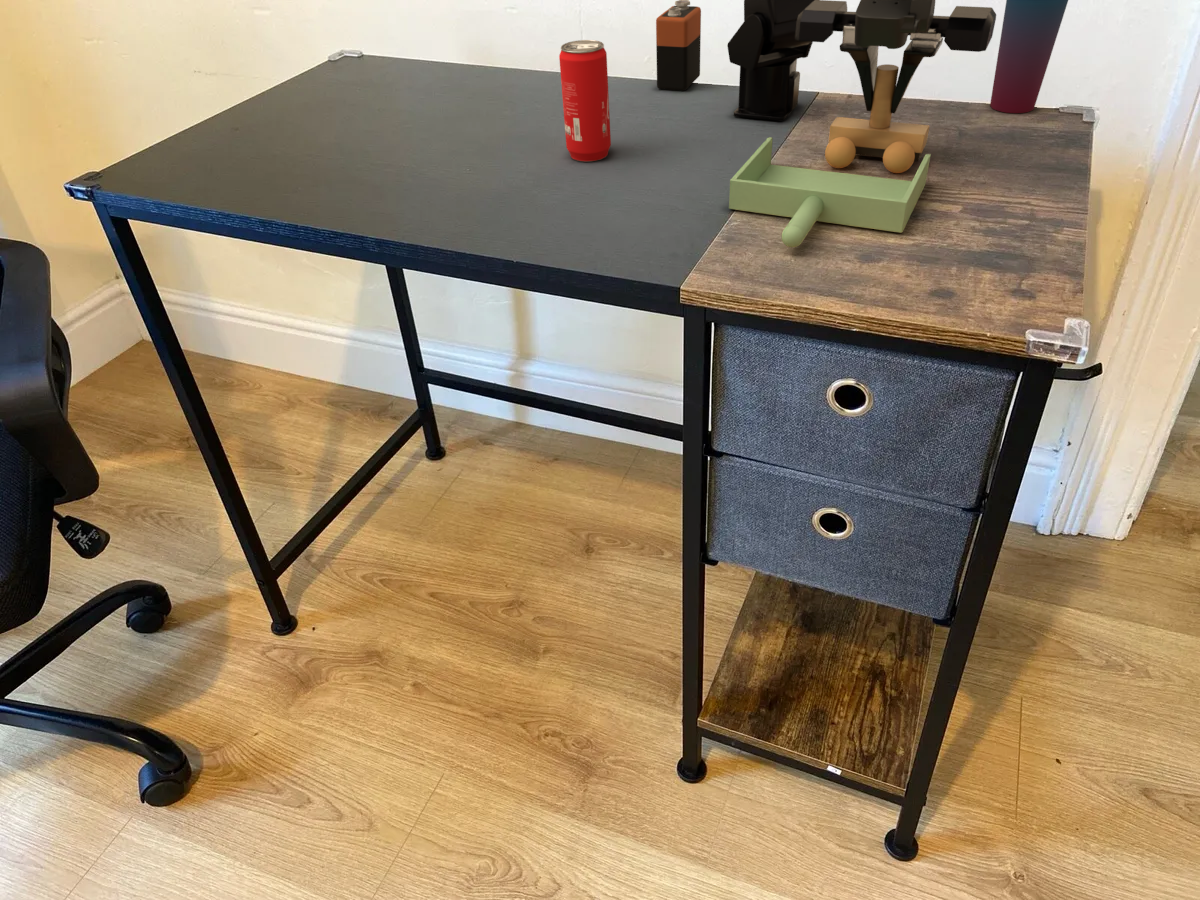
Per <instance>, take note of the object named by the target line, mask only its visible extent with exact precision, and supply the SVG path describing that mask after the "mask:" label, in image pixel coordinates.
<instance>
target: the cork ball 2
mask: <svg viewBox="0 0 1200 900" xmlns="http://www.w3.org/2000/svg"><path fill="white" fill-rule="evenodd" d="M914 158H915V153H914V150H913V148H912V146H911V145H910V144H908V143H906V142H903V141H898V142H894V143H892V144H891V145H889V146H888V147H887V148H886V150H885V152H884V154H883V158H882V164H883V166H884V168H885V169H886V170H887V171H889V172H890V173H893V174H901V173H904V172H907V171H908V170H909V169H910V168H911V167H912V165H914V162H915V161H914Z"/></svg>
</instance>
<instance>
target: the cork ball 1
mask: <svg viewBox="0 0 1200 900" xmlns="http://www.w3.org/2000/svg"><path fill="white" fill-rule="evenodd" d="M855 153H856V149H855V145H854V144H853V142H852V141H851V140H850V139H848V138H846V137H838V138H835V139H833V140H832V141H831V142H830V143H828V144H827V145H826V147H825V151H824V157H825V160H826V162H827V164H828V165H829V166H831V167H832V168H835V169H844V168H846V167H848V166H849V165H851V163H852V162H853V161H854V160H855V157H856V155H855Z"/></svg>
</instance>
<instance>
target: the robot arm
mask: <svg viewBox="0 0 1200 900" xmlns="http://www.w3.org/2000/svg"><path fill="white" fill-rule="evenodd" d="M935 7H936V0H860V1H859V3H858V5H857V8H856V10H855V11H848V2H847V0H743V22H742V23H741V24H740V27H738V29H737V30H736V32H735V33H734V34H733V36H732V37H731V39H729V41H728V42H727V52H728V59H729V62H730V64H734V65H736V66H739V82H738V83H739V84H738V106H737V108H736V109H734V111H733V116H734V117H738V118H748V119H756V120H767V121H777V122H782V121H785V120H786V119H787V117H789V115H790V114H791V113H792V112H793V111H794V110H795V108H797V106H798V105H799V93H800V81H801V72H800V71H798V70H797V64H798V59H805V58H808V57H809V55H810V51H811V48H812V45H813V43H825V42H826V41H827V40H828V39H829V38H830V37H831V36H832V35H833V34H834V32H842V42H841V43H840V45H839V50H840V52H843V53H848V54H849V56H850V57H851V58H852V60H853V62H854V64H855V67H856V71H857V73H858V76H859V81H860V86H861V90H862V94H863V99H864V104H865V109H866V112H871V107H872V100H873V92H874V84H875V77H876V70H877V67H878V61H879V59H878V58H879V47H885V48H887V49H888V50H889V49H890V50H897V49H901V48H903V47H904V46H905V45H906V44H907V41H908V37H909V40H910V41H909V43H908V45H907V46H906V48H905V49H904V50H903V54H902V61H901V67H900V69H899V72H898V76H897V83H896V88H895V92H894V96H893V100H892V107H891V113H892V114H896V112H897V110H898V108H899V106H900V104H901V102H902V100H903V98H904V96H905V94H906V92H907V90H908V87H909V85H910V83H911V81H912V79H913V76H914V75H915V73H916V71H917V69H918V67H919V66H920V64H921V63H922V61H923V59H924V58H933V57H935V56H936V55H937V53H938V51H939V50H940V48H941V46H942V45H943V42H944V44H945V45H946V46H947V47H948V48H949V49H950V51H959V52H960V51H961V52H975V53H979V52H980V53H981V52H986V51H987V49H988V46H989V44H990V43H991V41H992V38H993V35H994V30H995V25H996V20H997V13H996V11H995V10H994V8H993V7H990V6H964V5H963V6H962V5H956V6H955V7H954V9H953V11H952V12H951V14H950V15H935V9H936V8H935Z"/></svg>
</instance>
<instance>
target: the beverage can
mask: <svg viewBox="0 0 1200 900" xmlns="http://www.w3.org/2000/svg"><path fill="white" fill-rule="evenodd" d="M607 55H608V54H607V51H606V49H605V43H604V42H602V41H599V40H595V39H580V40H573V41H569V42H565V43H563V44H562V45H560V52H559V55H558V58H559V59H558V60H559V70H560V83H561V85H560V86H561V96H562V109H563V122H564V133H565V145H566V150H567V151H568V153H569V156H570V158H571V159H572V160H574V161H576V162H581V163H592V162H597V161H601V160H603V159H605V158H608V156H609V150H610V148H611V146H612V139H611V135H612V134H611V117H610V99H609V98H610V97H609V75H608V58H607V57H608V56H607Z"/></svg>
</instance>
